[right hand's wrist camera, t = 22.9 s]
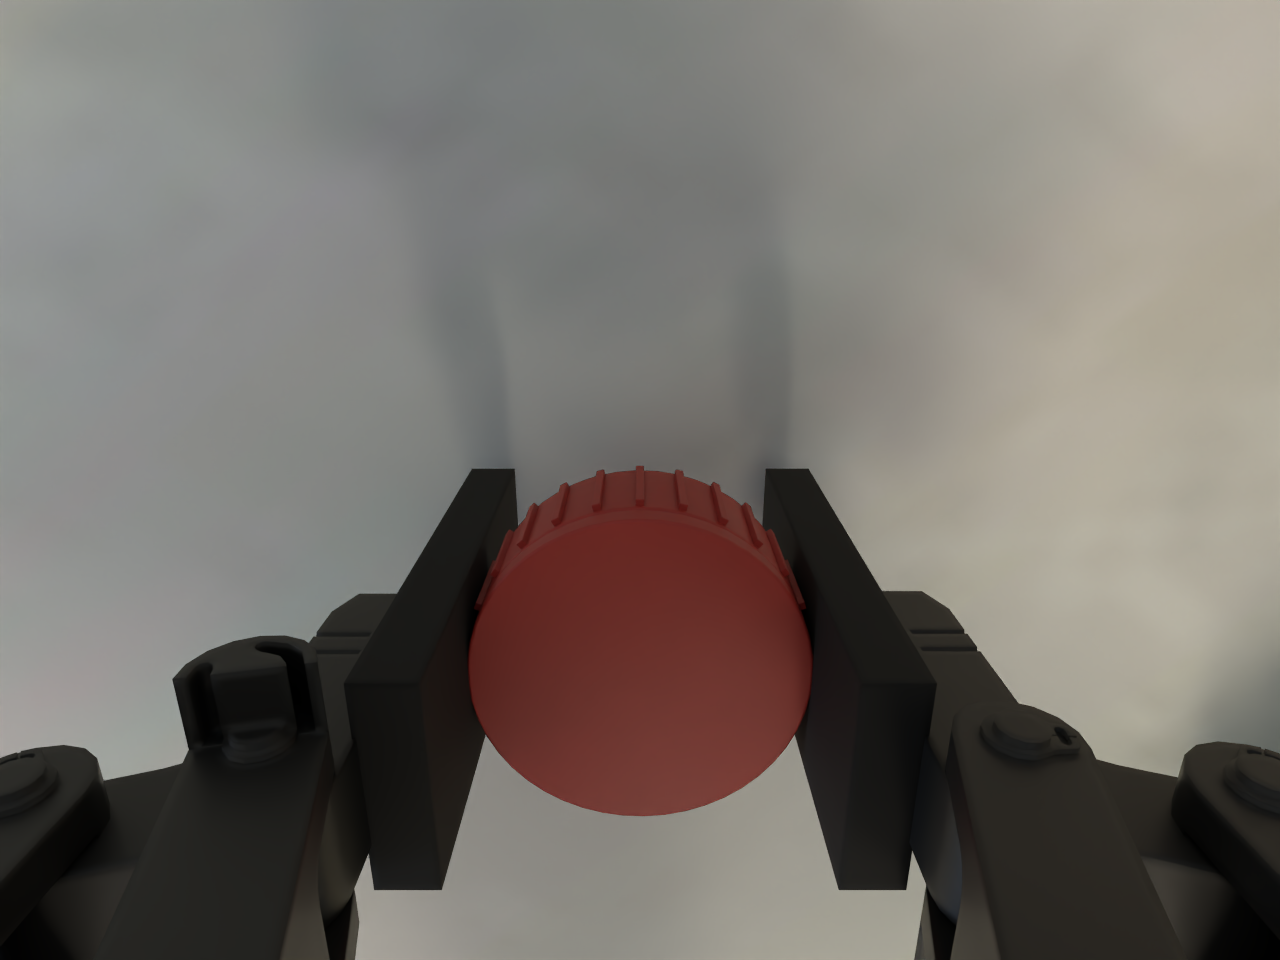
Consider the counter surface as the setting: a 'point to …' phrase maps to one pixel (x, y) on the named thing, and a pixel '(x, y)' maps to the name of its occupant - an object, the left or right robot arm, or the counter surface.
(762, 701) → the lid
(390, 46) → the counter surface
